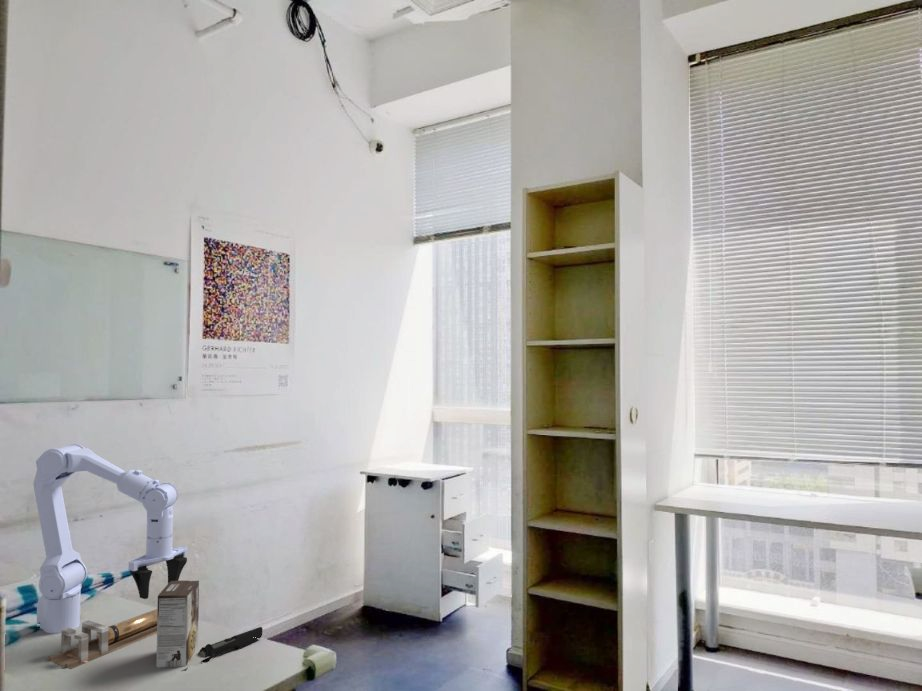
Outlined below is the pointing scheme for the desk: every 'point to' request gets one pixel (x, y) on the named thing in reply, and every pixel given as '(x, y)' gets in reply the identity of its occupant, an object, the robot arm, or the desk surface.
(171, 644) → the coffee box
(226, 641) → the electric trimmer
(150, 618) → the thermos bottle
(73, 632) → the board
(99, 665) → the desk surface
